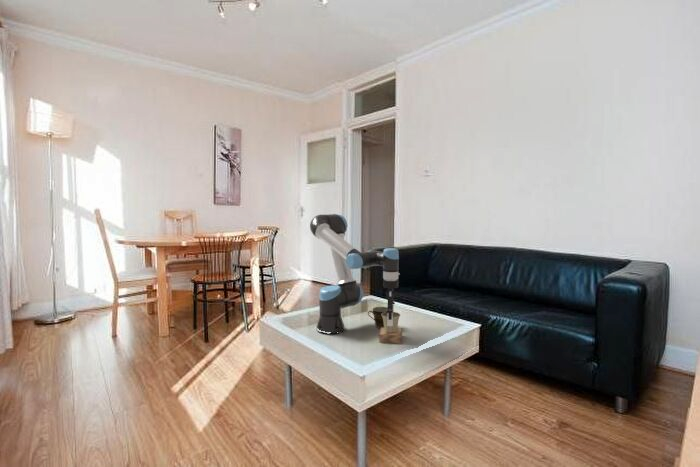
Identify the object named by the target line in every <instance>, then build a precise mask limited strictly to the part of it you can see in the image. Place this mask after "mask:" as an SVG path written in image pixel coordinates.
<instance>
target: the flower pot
mask: <svg viewBox="0 0 700 467" xmlns="http://www.w3.org/2000/svg"><path fill="white" fill-rule="evenodd" d="M381 315H382V318H383V322H384V331H385V332H387V333H392V332H394V333H395V332H397V328H399V326H398V325H399V319H400V317H401V314H400V313H399V312H395V311H394V312H393V326H387V313H386V312H384V313H382V314H381Z"/></svg>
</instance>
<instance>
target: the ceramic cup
mask: <svg viewBox="0 0 700 467" xmlns="http://www.w3.org/2000/svg"><path fill="white" fill-rule="evenodd" d="M387 308H388V306H376V307H373V308H372V310H369V311H368V312H367V315H368V316H369V317H370V318H371V319H372V320H373V321H374V324H375V328H377V329H380V328H384V322H383V318H382V315H381V314H382V313H384V312H386V311H387ZM369 313H372V315H373V316H371V315H370V314H369ZM373 317H374V318H373Z"/></svg>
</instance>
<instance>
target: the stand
mask: <svg viewBox="0 0 700 467" xmlns="http://www.w3.org/2000/svg"><path fill="white" fill-rule="evenodd" d="M378 340H379V343H381V344H382V343H384V344H403V328H402V327H401V328H400V327H397V332H395V333H394V332H392V333H387V332H385V331H384V328H379V334H378Z"/></svg>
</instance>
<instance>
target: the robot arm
mask: <svg viewBox="0 0 700 467" xmlns="http://www.w3.org/2000/svg"><path fill="white" fill-rule="evenodd" d="M309 227H310V231H311V234H312V235H313V236H314V237H315V238H317V239H318V240H322V241H323V242H324V243H325V244H326V245H328V246H329V247H330V249H331V256H332V261H333V264H334V270H335V273H336V278H337V283H336V284H332V285H327V286H323V287H322V288H321V289H320V290H319V293H318V294H319V296H318V299H319V300H318V301H319V304H318V305H319V317H318V319H317V324H316V329H317V328H318V329H319V330H321V331H325V332H331V333H337V332H341V333H343V332H344V331H345V322H344V321H343V317H342V309H345V308H349V307H350V308H351V307H354V306H356V305H359V304H360V303H361V302H362V300H363V298H364V290H363V288H362V286H361V284H358V283H357V280H356V279H354V277H353V272H352V270H354V269H355V270H357V269H359V270H360V269H363V268H368V267H375V266H377V267H378V266H379V267H383V269H382V279H383V282H382V283H383V284H382V286H383V288H384V289H387V290H386V300H387V307H388V308H387V311H386V313H387V326H393V312H395V310H394V306H395V305H396V302H395V295H396V294H395V293H396V292H395V290H394V289H398V288H399V276H400V275H401V274H400V272H399V260H400V256H399V253H400V252H399V250H398V248H393V247H388V248H387V247H386V248H384V249H383V251H379V250H375V249H374V250H373V249H372V250H371V249H370V250H367V251H363V252H362V251H359V250H358V249H357V248H356V247H355V246H353V245H352V244H350V243H349V242H348V241H347V240H345V239H344V238H345V236H346V232H347V230H348V221H347V219H346V218H345V217H344V216H343V215H342V214H336V213H333V214H331V213H330V214H329V213H328V214H318V215H315V216H314V217H313V218H312V219H311V221H310V223H309ZM342 331H343V332H342ZM337 334H338V333H337Z"/></svg>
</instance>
